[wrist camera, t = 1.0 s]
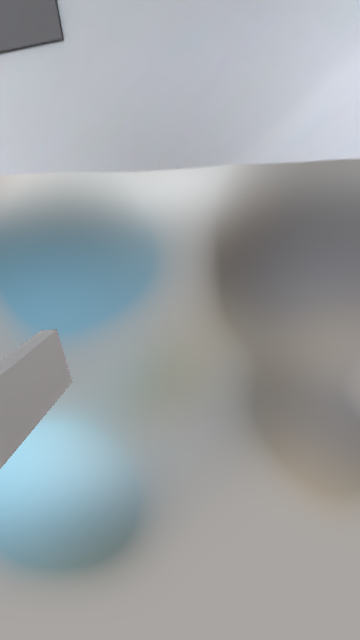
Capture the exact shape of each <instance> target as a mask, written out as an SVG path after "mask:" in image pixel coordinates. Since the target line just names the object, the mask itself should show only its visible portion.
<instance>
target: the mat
mask: <svg viewBox="0 0 360 640" xmlns="http://www.w3.org/2000/svg"><path fill="white" fill-rule="evenodd" d="M61 39H63V36H62V30H61V25H60V20H59V14H58V9H57V3H56V0H0V52H3V51H8V50H13V49H18V48H22V47H27V46H32V45H37V44H42V43H46V42H51V41H56V40H61Z"/></svg>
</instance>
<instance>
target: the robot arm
mask: <svg viewBox="0 0 360 640" xmlns="http://www.w3.org/2000/svg"><path fill="white" fill-rule="evenodd" d="M71 383H72V379H71V375H70V372H69V369H68V365H67V362H66V359H65V355H64V352H63V349H62V345H61V342H60V339H59V335H58V332H57V329H55V330H42V331H40V332H39V333H37V334H36V335H35V336H33V337H32V338H31V339H30V340H28V341H27V342H26V343H24V344H23V345H22V346H20V347H19V348H18V349H16V350H15V351H14V352H12V353H11V354H10V355H8V356H7V357H6V358H5V359H3V360H2V361H1V362H0V469H1V467H2V466H3V465H4V464H5V463H6V462H7V460H8V459H9V458H10V456H12V454H13V453H14V452H15V451H16V449H17V448H18V447H19V446H20V445H21V443H22V442H23V441H24V440H25V439H26V437H27V436H28V435H29V434H30V433H31V431H32V430H33V429H34V428H35V426H36V425H37V424H38V423H39V422H40V420H41V419H42V418H43V417H44V416H45V414H46V413H47V412H48V411H49V410H50V408H51V407H52V406H53V405H54V403H55V402H56V401H57V400H58V399H59V398H60V396H61V395H62V394H63V393H64V391H65V390H66V389H67V388H68V387H69V385H70V384H71Z"/></svg>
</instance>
